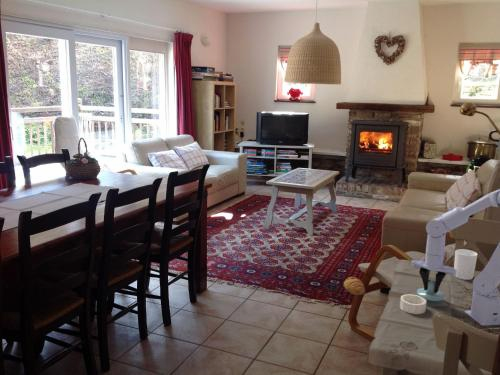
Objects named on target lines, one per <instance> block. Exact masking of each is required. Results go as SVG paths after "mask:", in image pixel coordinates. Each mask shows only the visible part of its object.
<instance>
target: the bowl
mask: <svg viewBox="0 0 500 375" xmlns="http://www.w3.org/2000/svg"><path fill="white" fill-rule="evenodd" d="M399 300H400V301H399V308H400V310H402V311H403V312H405V313H409V314H410V315H411V314H413V315H422V314H425V312H426V308H427V307H426V300H425V299H424V298H423V297H420V296H418V295H417V294H412V293H411V294H410V293H409V294H408V293H405V294H403V295H400V299H399Z"/></svg>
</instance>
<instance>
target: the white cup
mask: <svg viewBox="0 0 500 375" xmlns="http://www.w3.org/2000/svg"><path fill="white" fill-rule="evenodd" d="M477 259H478V253H477V252H475V251H473V250H471V249H465V248H462V249H461V248H459V249H456V250H455V251H454V267H453V269H457V274H456V276H455V277H454V278H457V279H459V280H465V281H470V280H471V281H472V279H473V278H474V273H475V270H476V265H477ZM473 280H474V279H473Z"/></svg>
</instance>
